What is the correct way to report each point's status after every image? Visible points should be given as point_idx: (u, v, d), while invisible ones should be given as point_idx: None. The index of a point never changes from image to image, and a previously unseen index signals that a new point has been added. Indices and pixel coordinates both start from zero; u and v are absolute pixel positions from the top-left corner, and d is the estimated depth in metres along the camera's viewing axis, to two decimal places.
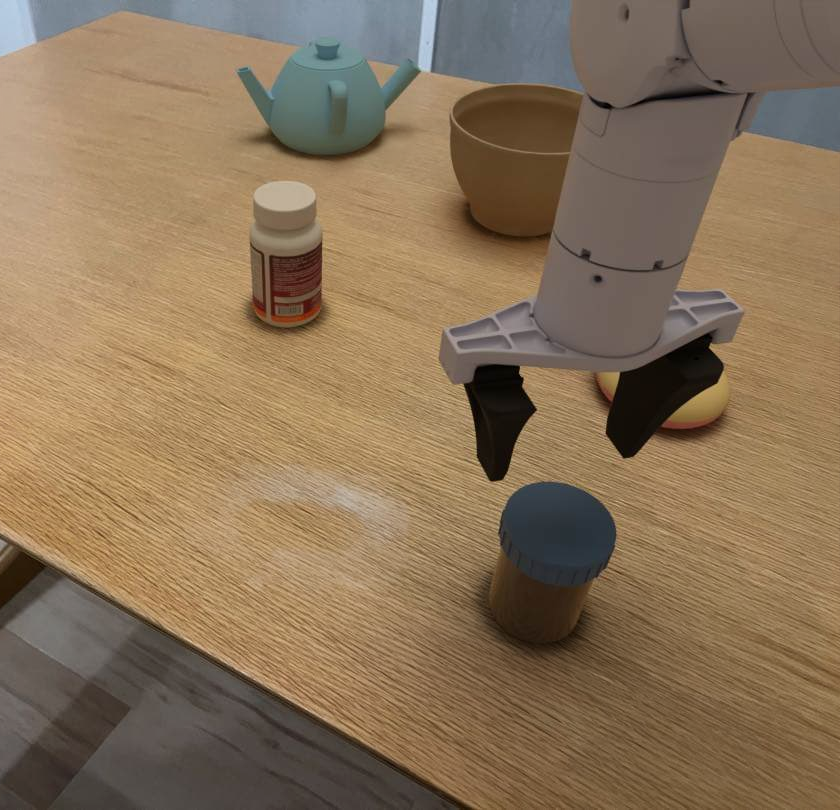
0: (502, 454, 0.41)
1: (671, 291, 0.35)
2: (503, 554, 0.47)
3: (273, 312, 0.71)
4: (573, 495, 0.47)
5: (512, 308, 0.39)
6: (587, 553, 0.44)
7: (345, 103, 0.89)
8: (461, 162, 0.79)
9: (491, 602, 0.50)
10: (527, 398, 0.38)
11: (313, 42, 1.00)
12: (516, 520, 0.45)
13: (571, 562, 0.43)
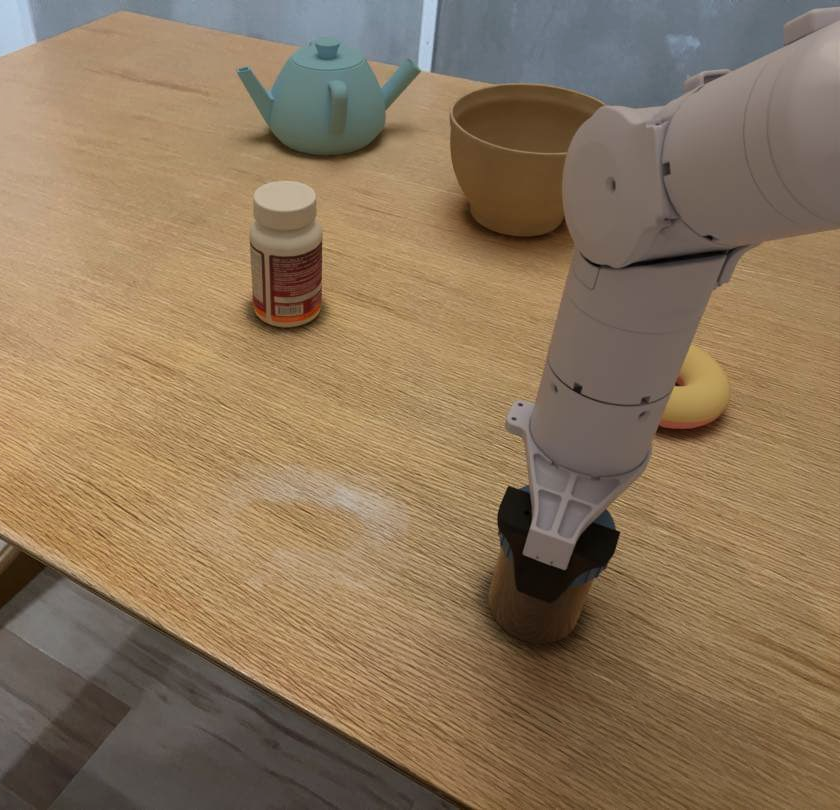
0: None
1: None
2: (503, 554, 0.47)
3: (273, 312, 0.71)
4: None
5: (534, 467, 0.39)
6: None
7: (345, 103, 0.89)
8: (461, 162, 0.79)
9: (491, 602, 0.50)
10: (606, 527, 0.39)
11: (313, 42, 1.00)
12: None
13: None
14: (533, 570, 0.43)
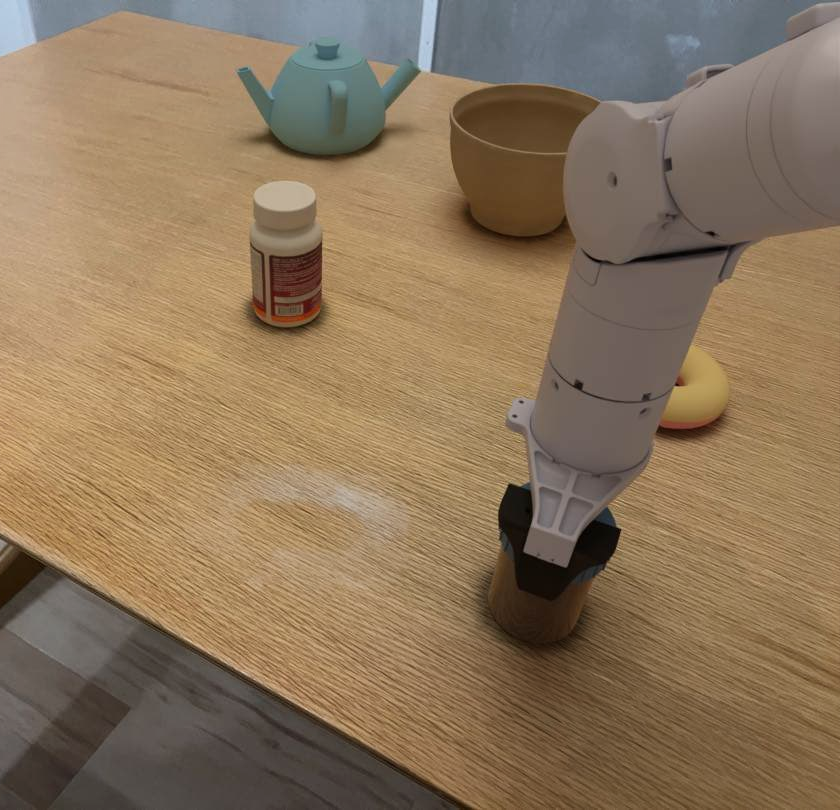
0: None
1: None
2: (503, 556, 0.47)
3: (273, 312, 0.71)
4: None
5: (535, 465, 0.39)
6: (602, 517, 0.45)
7: (345, 103, 0.89)
8: (461, 162, 0.79)
9: (491, 604, 0.50)
10: None
11: (313, 42, 1.00)
12: None
13: None
14: (534, 568, 0.43)
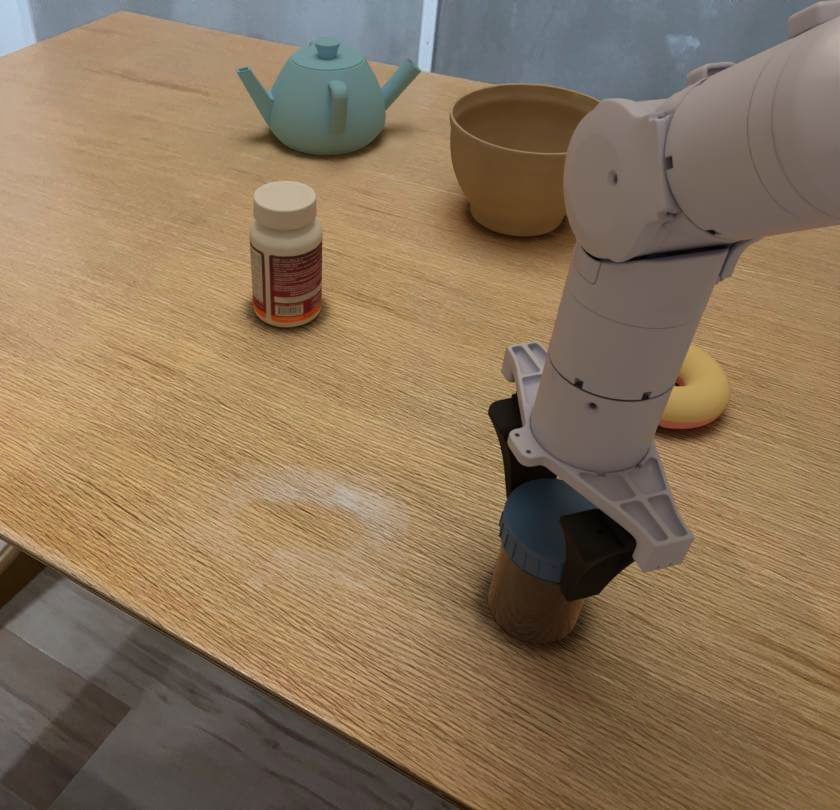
0: None
1: None
2: (504, 558, 0.47)
3: (273, 312, 0.71)
4: (518, 512, 0.45)
5: (592, 487, 0.38)
6: None
7: (345, 103, 0.89)
8: (461, 162, 0.79)
9: (492, 606, 0.50)
10: None
11: (313, 42, 1.00)
12: None
13: None
14: (588, 576, 0.42)
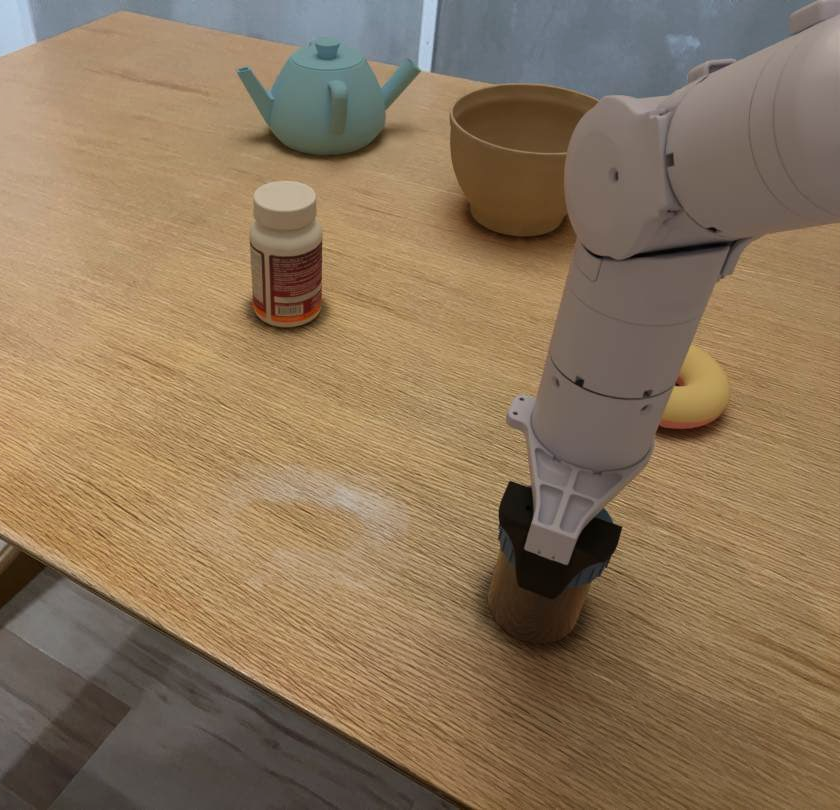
0: None
1: None
2: (504, 558, 0.47)
3: (273, 312, 0.71)
4: None
5: (536, 462, 0.39)
6: None
7: (345, 103, 0.89)
8: (461, 162, 0.79)
9: (492, 606, 0.50)
10: (609, 522, 0.39)
11: (313, 42, 1.00)
12: None
13: None
14: (534, 566, 0.43)
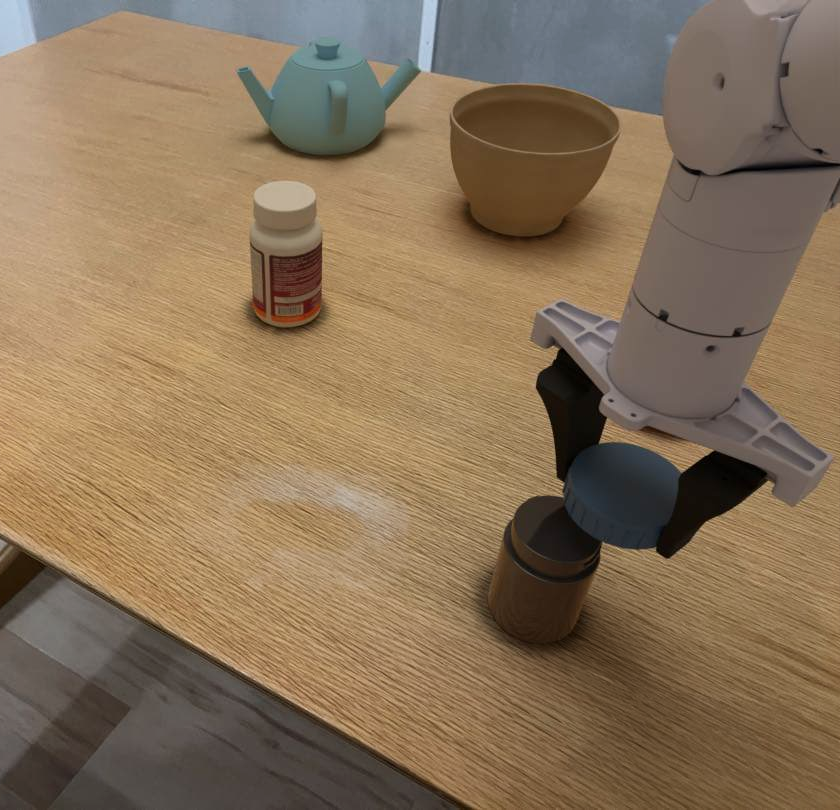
0: None
1: None
2: (504, 558, 0.47)
3: (273, 312, 0.71)
4: (636, 514, 0.41)
5: (714, 434, 0.35)
6: (588, 459, 0.44)
7: (345, 103, 0.89)
8: (461, 162, 0.79)
9: (492, 606, 0.50)
10: None
11: (313, 42, 1.00)
12: (666, 469, 0.43)
13: (595, 448, 0.45)
14: None
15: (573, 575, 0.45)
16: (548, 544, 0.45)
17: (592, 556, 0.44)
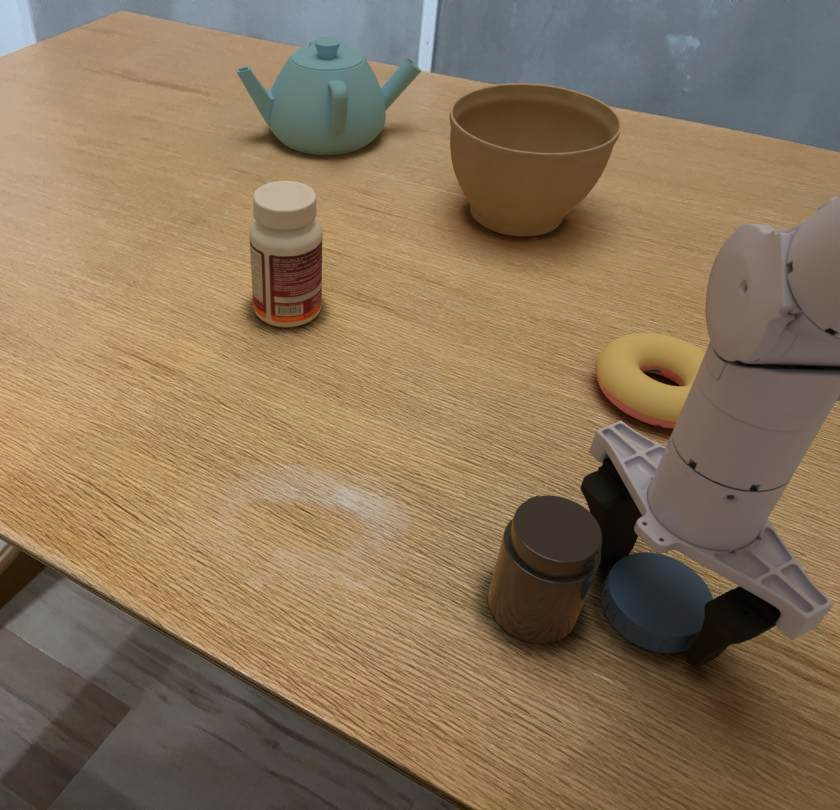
0: None
1: None
2: (504, 558, 0.47)
3: (273, 312, 0.71)
4: (660, 623, 0.48)
5: (730, 567, 0.41)
6: (627, 566, 0.51)
7: (345, 103, 0.89)
8: (461, 162, 0.79)
9: (492, 606, 0.50)
10: None
11: (313, 42, 1.00)
12: (696, 585, 0.50)
13: (636, 556, 0.51)
14: None
15: (573, 575, 0.45)
16: (548, 544, 0.45)
17: (592, 556, 0.44)
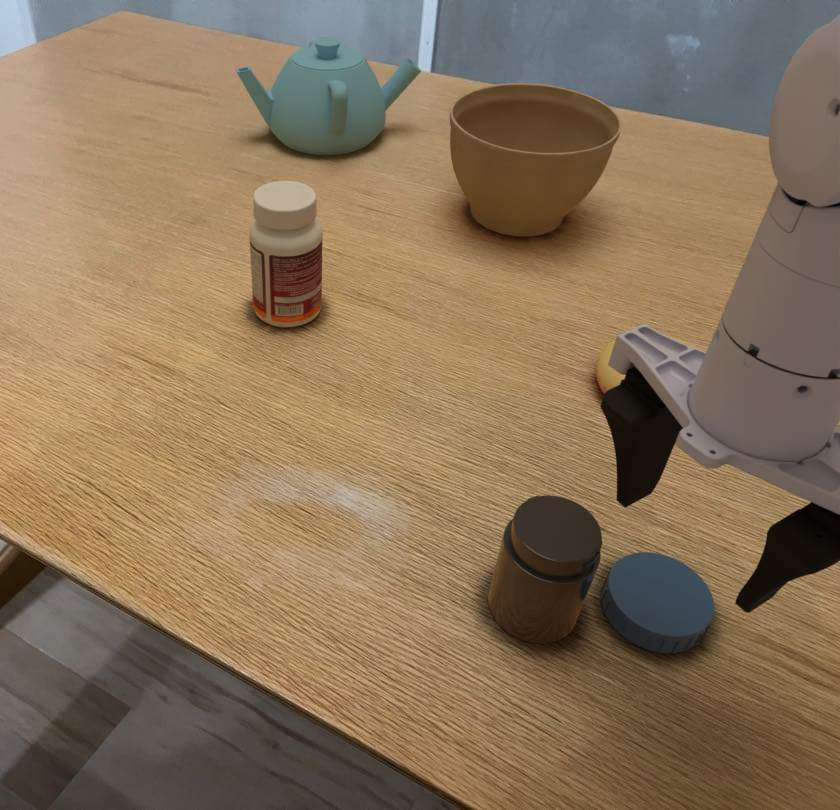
0: None
1: None
2: (504, 558, 0.47)
3: (273, 312, 0.71)
4: (660, 623, 0.48)
5: (799, 479, 0.33)
6: (627, 566, 0.51)
7: (345, 103, 0.89)
8: (461, 162, 0.79)
9: (492, 606, 0.50)
10: None
11: (313, 42, 1.00)
12: (696, 585, 0.50)
13: (636, 556, 0.51)
14: None
15: (573, 575, 0.45)
16: (548, 544, 0.45)
17: (592, 556, 0.44)
